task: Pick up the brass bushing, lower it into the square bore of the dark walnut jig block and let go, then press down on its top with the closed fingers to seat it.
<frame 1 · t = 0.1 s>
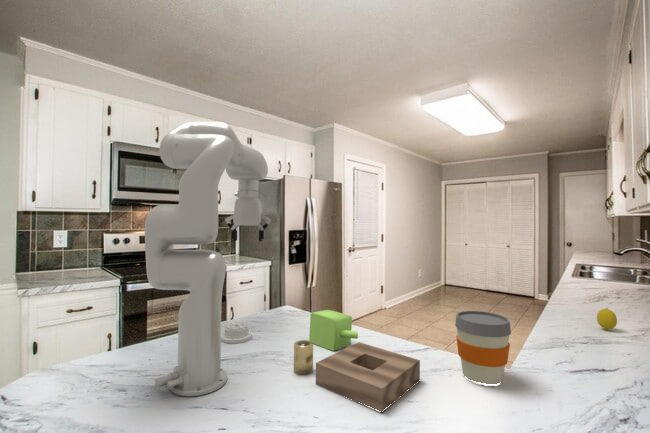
hand: (247, 240, 122), 31 cm above the countertop, tool pointing down, fingers open, 9 cm apart
lemon: (606, 330, 118), on the countertop
gearbox: (334, 344, 103), on the countertop
mechanical component: (236, 339, 107), on the countertop
jig: (368, 382, 78), on the countertop
bushing: (303, 370, 84), on the countertop
reusable coffee cup: (482, 378, 81), on the countertop
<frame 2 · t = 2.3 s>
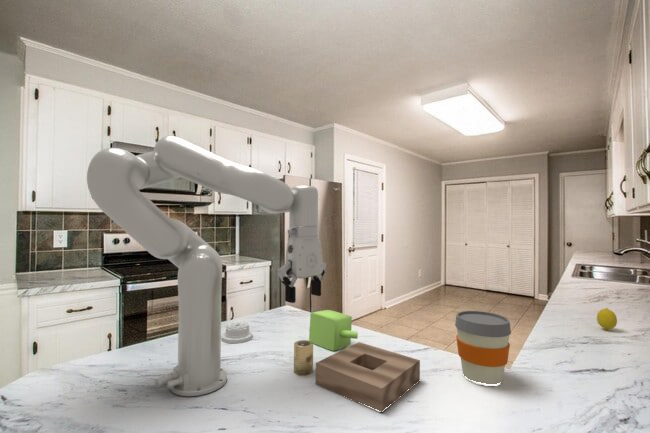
hand: (303, 298, 85), 19 cm above the countertop, tool pointing down, fingers open, 9 cm apart
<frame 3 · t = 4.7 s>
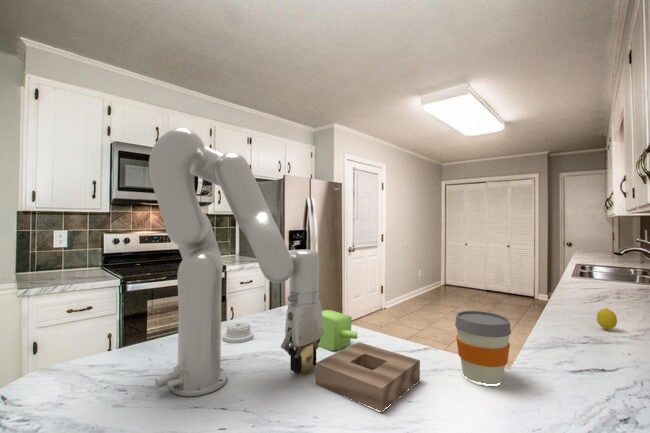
hand: (303, 367, 84), 1 cm above the countertop, tool pointing down, fingers closed on bushing, 5 cm apart
bushing: (303, 370, 84), on the countertop, touching gripper
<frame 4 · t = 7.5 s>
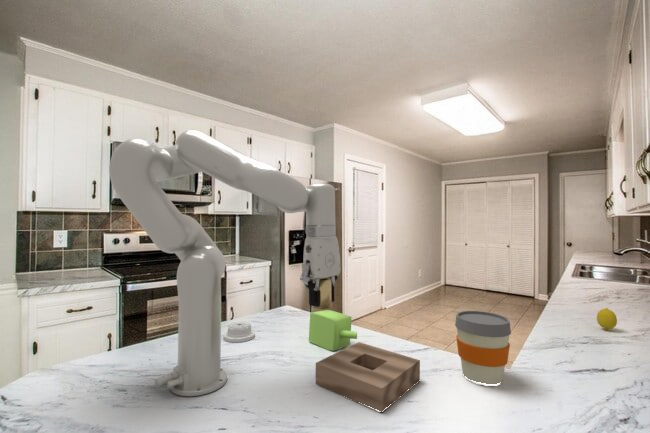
hand: (322, 302, 83), 18 cm above the countertop, tool pointing down, fingers closed on bushing, 5 cm apart
bushing: (321, 306, 83), point 17 cm above the countertop, touching gripper
when the fingers open (7 cm above the countertop, at t = 10.6 s): bushing drops 6 cm, resting in jig.
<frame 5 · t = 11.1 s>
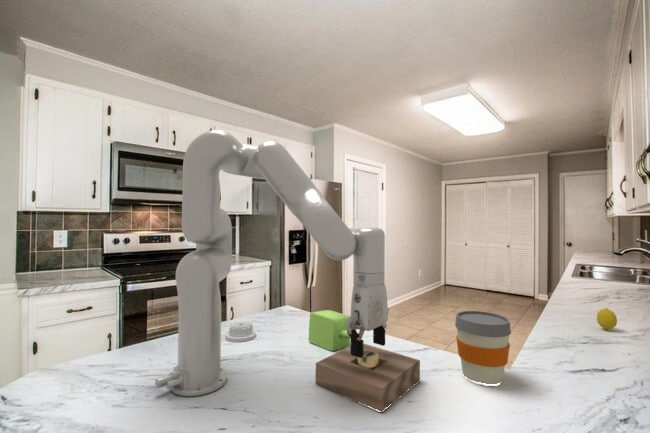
hand: (368, 349, 78), 8 cm above the countertop, tool pointing down, fingers open, 9 cm apart
bushing: (367, 382, 78), resting in jig
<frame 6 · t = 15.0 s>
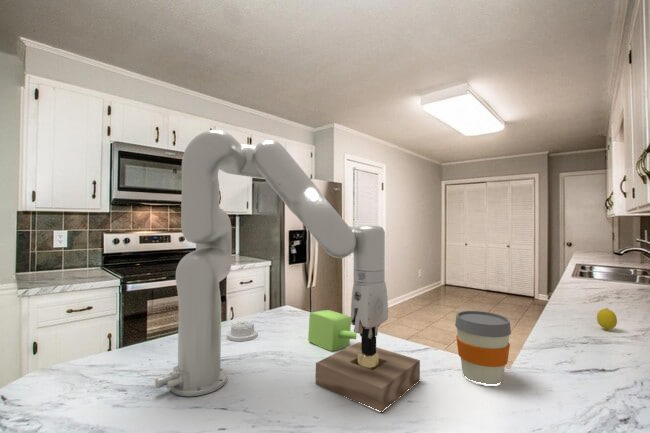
hand: (368, 352, 78), 7 cm above the countertop, tool pointing down, fingers closed
bushing: (367, 382, 78), resting in jig, touching gripper
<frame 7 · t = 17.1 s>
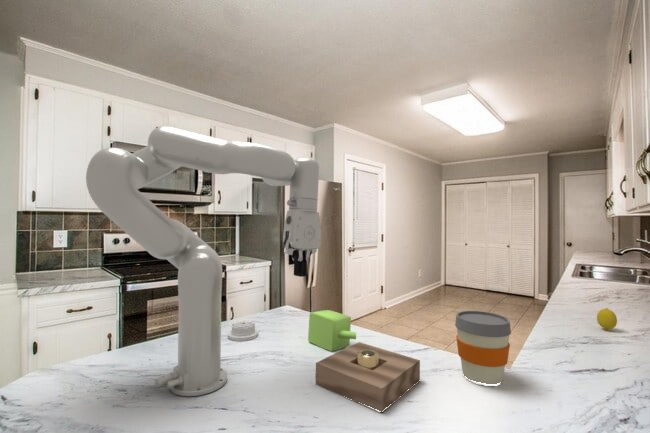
hand: (299, 275, 85), 24 cm above the countertop, tool pointing down, fingers closed
bushing: (367, 382, 78), resting in jig
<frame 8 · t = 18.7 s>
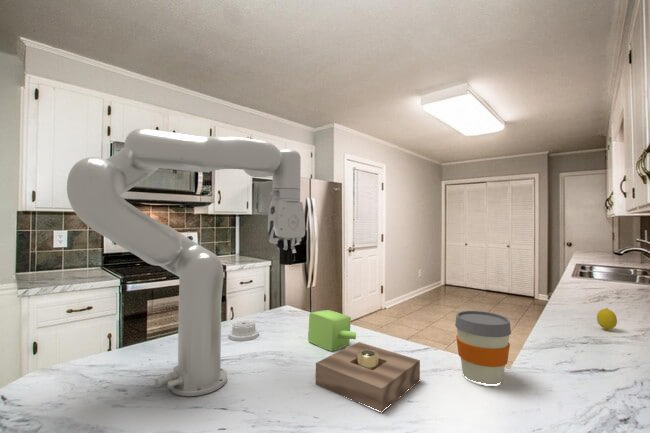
hand: (285, 264, 87), 27 cm above the countertop, tool pointing down, fingers closed
at the end: bushing 0.1 cm off-centre on the jig, point 0.0 cm above the jig's base; bushing tilted 0°; the gripper is holding nothing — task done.
